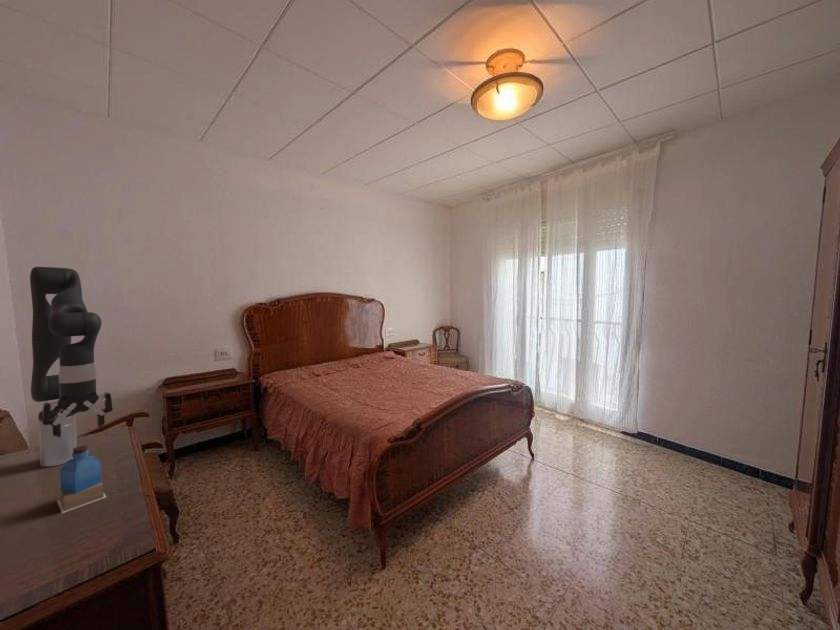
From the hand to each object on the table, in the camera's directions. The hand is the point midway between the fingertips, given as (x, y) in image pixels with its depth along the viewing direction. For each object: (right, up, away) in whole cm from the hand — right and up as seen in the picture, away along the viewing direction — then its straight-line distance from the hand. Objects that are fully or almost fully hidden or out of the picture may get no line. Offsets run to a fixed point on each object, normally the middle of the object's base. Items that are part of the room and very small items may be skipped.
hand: (79, 431), depth 95 cm
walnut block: (0, -21, +1) cm, 21 cm away
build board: (0, -22, +1) cm, 22 cm away
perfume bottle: (0, -17, +1) cm, 17 cm away
